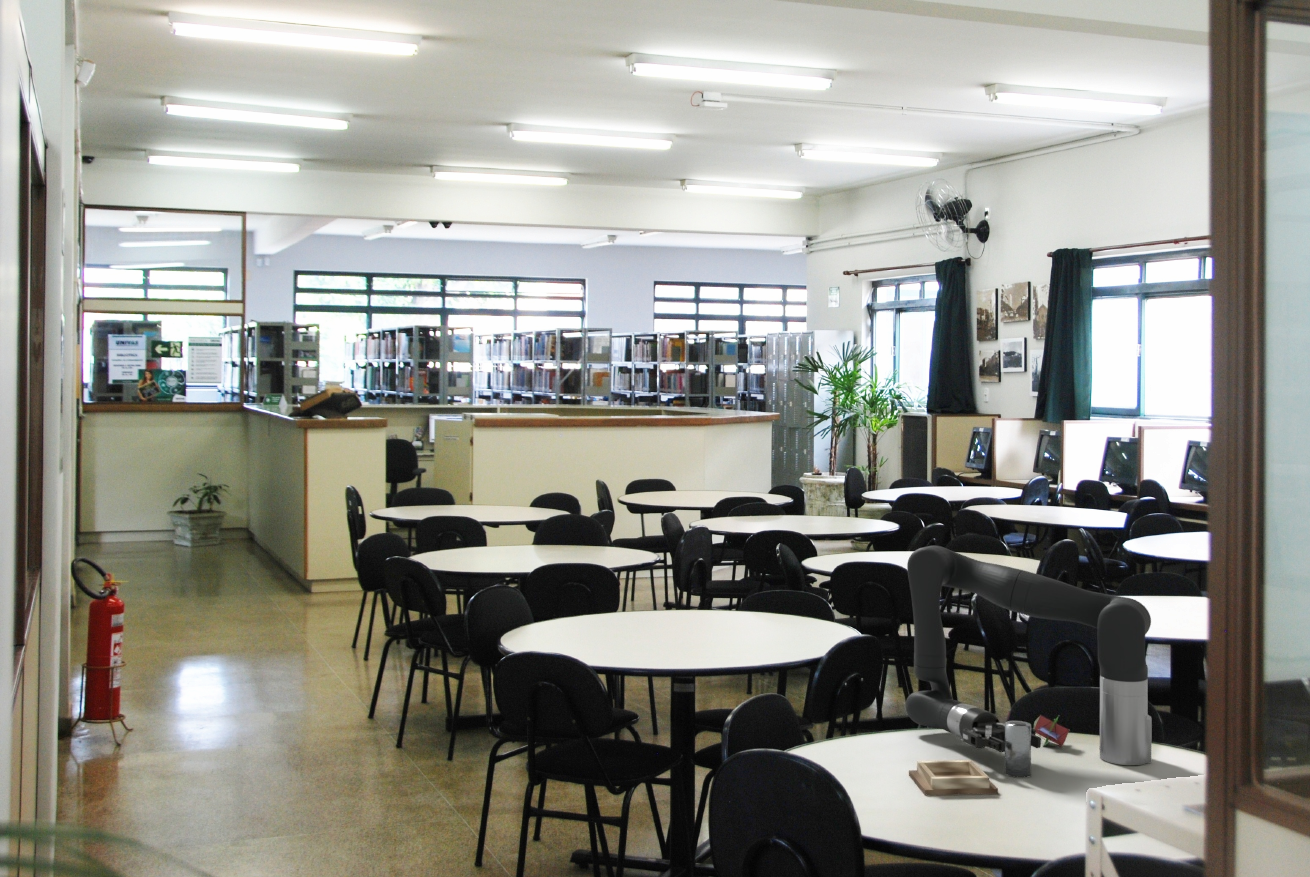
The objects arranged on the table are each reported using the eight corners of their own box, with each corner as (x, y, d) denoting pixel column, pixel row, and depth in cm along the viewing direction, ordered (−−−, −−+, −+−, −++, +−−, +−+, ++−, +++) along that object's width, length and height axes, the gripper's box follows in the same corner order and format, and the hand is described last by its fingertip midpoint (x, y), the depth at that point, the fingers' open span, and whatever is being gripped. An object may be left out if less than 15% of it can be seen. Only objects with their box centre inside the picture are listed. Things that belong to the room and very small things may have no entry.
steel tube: (1025, 769, 238) (1025, 720, 238) (1034, 777, 233) (1034, 726, 233) (1001, 769, 238) (1001, 720, 238) (1009, 777, 233) (1009, 727, 233)
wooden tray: (978, 774, 235) (978, 759, 235) (998, 793, 223) (998, 778, 223) (908, 775, 235) (908, 760, 235) (924, 795, 223) (924, 779, 223)
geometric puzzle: (1079, 735, 255) (1057, 703, 258) (1072, 742, 250) (1049, 710, 252) (1052, 750, 258) (1030, 719, 261) (1045, 758, 253) (1022, 726, 255)
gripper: (944, 710, 247) (991, 730, 232) (1001, 704, 252) (1051, 723, 237) (944, 745, 247) (991, 767, 232) (1001, 738, 252) (1051, 760, 237)
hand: (1021, 745), depth 234 cm, fingers open, 8 cm apart
